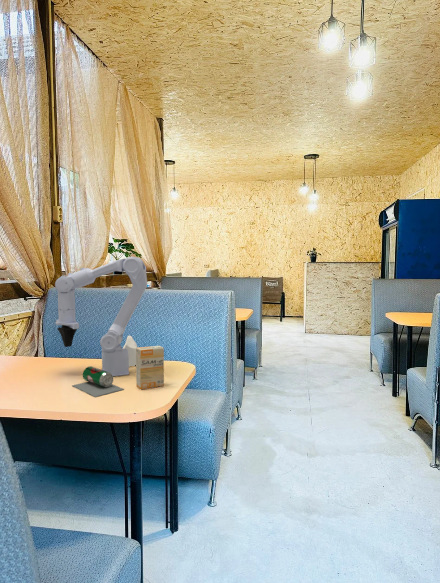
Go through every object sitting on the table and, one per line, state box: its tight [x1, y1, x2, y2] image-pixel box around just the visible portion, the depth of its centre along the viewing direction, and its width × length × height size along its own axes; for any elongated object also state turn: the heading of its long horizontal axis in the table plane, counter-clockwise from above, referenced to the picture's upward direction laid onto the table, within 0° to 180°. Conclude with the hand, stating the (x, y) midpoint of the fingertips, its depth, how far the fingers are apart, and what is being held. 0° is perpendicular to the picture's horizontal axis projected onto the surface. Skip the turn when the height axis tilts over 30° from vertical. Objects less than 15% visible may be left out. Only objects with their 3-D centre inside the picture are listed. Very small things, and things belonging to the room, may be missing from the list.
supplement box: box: [135, 345, 165, 390], centre depth 131 cm, size 8×5×13 cm, turn 118°
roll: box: [122, 334, 138, 368], centre depth 158 cm, size 6×12×6 cm
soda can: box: [82, 366, 114, 387], centre depth 133 cm, size 5×5×12 cm
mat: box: [71, 381, 125, 398], centre depth 130 cm, size 16×10×1 cm, turn 45°
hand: (67, 346), depth 145 cm, fingers closed
